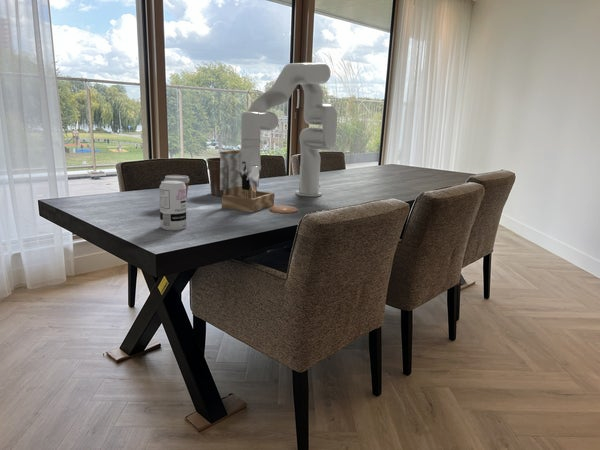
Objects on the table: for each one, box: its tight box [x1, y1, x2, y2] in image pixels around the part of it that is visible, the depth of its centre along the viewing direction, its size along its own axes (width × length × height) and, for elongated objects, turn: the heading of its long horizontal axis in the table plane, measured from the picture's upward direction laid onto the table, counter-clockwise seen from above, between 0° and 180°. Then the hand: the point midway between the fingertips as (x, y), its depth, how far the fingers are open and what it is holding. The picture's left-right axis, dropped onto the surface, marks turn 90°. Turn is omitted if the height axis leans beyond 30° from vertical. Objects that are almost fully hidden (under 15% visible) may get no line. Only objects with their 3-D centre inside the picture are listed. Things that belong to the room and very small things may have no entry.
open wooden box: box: [219, 149, 275, 213], centre depth 182 cm, size 18×15×22 cm
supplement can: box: [159, 180, 188, 231], centre depth 144 cm, size 8×8×15 cm
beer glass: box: [243, 165, 260, 199], centre depth 182 cm, size 7×7×15 cm
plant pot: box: [206, 157, 238, 197], centre depth 204 cm, size 16×16×16 cm
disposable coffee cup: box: [163, 174, 190, 200], centre depth 174 cm, size 10×10×12 cm
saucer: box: [269, 204, 298, 214], centre depth 180 cm, size 11×11×1 cm
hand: (250, 187), depth 183 cm, fingers closed on beer glass, 6 cm apart
